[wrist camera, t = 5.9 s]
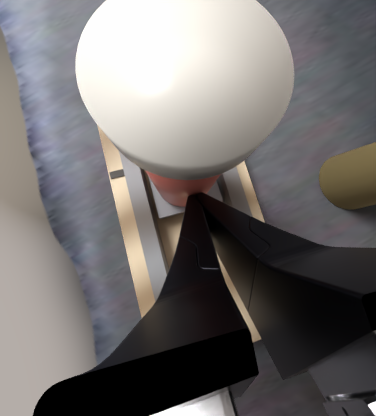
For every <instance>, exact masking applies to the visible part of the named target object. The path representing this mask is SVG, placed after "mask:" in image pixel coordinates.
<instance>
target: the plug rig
mask: <svg viewBox="0 0 376 416" xmlns="http://www.w3.org/2000/svg"><path fill="white" fill-rule="evenodd" d="M97 125H98V124H97ZM98 129H99V134H100V138H101V142H102V147H103V151H104V155H105V160H106V164H107V169H108V173H109V177H110V182H111V186H112V190H113V195H114V199H115V203H116V208H117V212H118V216H119V221H120V225H121V230H122V234H123V238H124V243H125V247H126V251H127V256H128V260H129V264H130V269H131V273H132V277H133V282H134V286H135V291H136V295H137V299H138V304H139V308H140V312H141V317H142V318H143V317H144V315H145V314H146V313H147V312H148V311H149V310H150V308H151V307H152V306H153V305H154V303H155V302H156V300H157V298H158V296H159V294H160V292H161V289H162V287H163V284H164V282H165V279H166V276H167V274H168V271H169V268H170V266H171V263H172V260H173V257H174V254H175V251H176V247H177V244H178V239H179V235H180V230H181V225H182V220H183V216H184V213H181V214H178V215H174V216H171V217H167V218H163V219H160V218H159V215H158V211H157V208H156V204H155V200H154V196H153V192H152V188H151V185H150V181H149V177H148V174H147V172H146V171H145V170H144V169H142V168H140V167H138V166H137V165H135V164H134V163H132V162H131V161H130V160H128V159H127V158H126V157H125V156H124V155H123V154H121V152H120V151H119V150H118V149H117V148H116V147H115V146H114V145H113V143H112V142H111V141H110V140H109V138H108V137H107V136H106V134H105V133H104V132H103V131H102V129H101V128H100V127H99V126H98ZM217 183H218V187H219V190H220V193H221V196H222V199H223V201H222V202H224V203H226V204H228V205H230V206H232V207H234V208H236V209H238V210H240V211H242V212H244V213H246V214H248V215H250V217H251V216H252V217H254V218H256V219H258V220H260V221H262V222H264V223H265V221H264V218H263V215H262V212H261V209H260V206H259V203H258V200H257V197H256V194H255V191H254V188H253V185H252V183H251V180H250V177H249V174H248V171H247V168H246V165H245V162H244V161H243V162H242V163H240V164H239V165H237V166H236V167H234V168H233V169H231V170H229V171H227V172H225V173H222V174H221V175H220V176H219V177H218V179H217ZM216 253H217V252H216ZM217 257H218V260H219V263H220V267H221V271H222V273H223V277H224V279H225V282H226V285H227V287H228V289H229V291H230V293H231V294H232V296H233V298H234V300H235V302H236V304H237V306H238V308H239V310H240V312H241V314H242V316H243V318H244V320H245V322H246V324H247V326H248V328H249V330H250V332H251V336H252V341H253V342H255V341H258V340H261V337H260V335H259V333H258V331H257V329H256V327H255V325H254V323H253V321H252V319H251V318H250V316H249V314H248V311H247V310H246V308H245V306H244V304H243V302H242V300H241V298H240V296H239V294H238V292H237V291H236V289H235V287H234V285H233V283H232V281H231V279H230V277H229V275H228V273H227V271H226V269H225V267H224V266H223V264H222V262H221V260H220V258H219V256H218V254H217Z"/></svg>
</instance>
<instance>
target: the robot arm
mask: <svg viewBox="0 0 376 416" xmlns="http://www.w3.org/2000/svg"><path fill="white" fill-rule="evenodd" d="M216 252H217V253H216ZM217 254H218V256H219V258H220V260H221V262H222V264H223V266H224V267H225V269H226V271H227V273H228V275H229V277H230V279H231V281H232V283H233V285H234V287H235V289H236V291H237V292H238V294H239V296H240V298H241V300H242V302H243V304H244V306H245V308H246V310H247V311H248V314H249V316H250V318H251V319H252V321H253V323H254V325H255V327H256V329H257V331H258V333H259V335H260V337H261V339H262V341H263V342H264V344H265V346H266V348H267V350H268V352H269V354H270V356H271V358H272V360H273V362H274V364H275V365H276V367H277V369H278V371H279V373H280V375H281V377H282V379H283V380H285V379H288V378H291V377H293V376H296V375H299V374H301V373H304V372H307V371H309V373H310V375H311V376H312V378H313V380H314V381H315V383H316V385H317V387H318V388H319V390H320V392H321V393H322V395H323V397H324V398H325V400H326V402H323V406H324V408H325V410H326V411H327V413H328V415H329V416H376V248H346V247H330V246H324V245H320V244H317V243H314V242H311V241H309V240H306V239H304V238H301V237H298V236H296V235H293V234H291V233H288V232H286V231H283V230H281V229H278V228H276V227H273V226H271V225H269V224H266V223H264V222H262V221H260V220H258V219H256V218H254V217H252V216H251V217H250V215H248V214H246V213H244V212H242V211H240V210H238V209H236V208H234V207H232V206H230V205H228V204H226V203H224V202H221V201H219V200H217V199H215V198H213V197H211V196H209V195H207V194H205V193H203V192H200V193H197V194H193V195H189V196H188V197H187V202H186V206H185V211H184V216H183V220H182V225H181V230H180V235H179V239H178V244H177V247H176V251H175V254H174V257H173V260H172V263H171V266H170V268H169V271H168V274H167V276H166V279H165V282H164V284H163V287H162V289H161V292H160V294H159V296H158V298H157V300H156V302H155V303H154V305H153V306H152V307H151V308H150V310H149V311H148V312H147V313H146V314H145V315H144V317H143V318H142V319H141V320H140V321H139V322H138V324H137V325H136V326H135V327H134V328H133V330H132V331H131V332H130V333H129V334H128V335H127V337H126V338H125V339H124V340H123V341H122V342H121V344H120V345H119V346H118V347H117V348H116V349H115V350H114V351H113V353H112V354H111V355H110V356H109V357H107V358H106V359H105V360H104V361H103V362H101V363H100V364H99V365H97V366H96V367H94V368H93V369H92V370H89V371H87V372H85V373H83V374H80V375H77V376H74V377H72V378H69V379H66V380H63V381H61V382H58V383H56V384H54V385H53V386H51V387H50V388H49V389H48V390H47V391H45V392H44V394H43V395H42V396H41V398H40V399H39V401H38V403H37V405H36V407H35V409H34V413H33V416H239V414H238V410H237V407H236V404H235V400H234V399H235V398H237V397H240V396H241V395H242V394H243V393H244V392H245V390H246V389H247V388H248V387H249V385H250V384H251V383H252V382H253V380H254V379H255V378H256V377H257V375H258V374H259V371H258V366H257V362H256V357H255V352H254V347H253V341H252V336H251V332H250V330H249V328H248V326H247V324H246V322H245V320H244V318H243V316H242V314H241V312H240V310H239V308H238V306H237V304H236V302H235V300H234V298H233V296H232V294H231V293H230V291H229V289H228V287H227V285H226V282H225V279H224V277H223V273H222V271H221V267H220V263H219V260H218V257H217Z"/></svg>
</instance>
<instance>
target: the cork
mask: <svg viewBox="0 0 376 416" xmlns="http://www.w3.org/2000/svg"><path fill="white" fill-rule="evenodd" d="M319 182H320V187H321V189H322V192H323V194H324V195H325V196H326V198H327V199H328V200H329V201H330V202H331V203H333V204H334V205H336V206H337V207H340V208H343V209H359V208H363V207H367V206H371V205H375V204H376V142H375V143H372V144H369V145H366V146H363V147H360V148H357V149H354V150H351V151H348V152H345V153H342V154H339V155H336V156H333V157H331V158H329V159H328V160H327V161H325V162H324V164H323V166H322V167H321V169H320V174H319Z"/></svg>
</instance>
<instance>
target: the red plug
mask: <svg viewBox="0 0 376 416" xmlns="http://www.w3.org/2000/svg"><path fill="white" fill-rule="evenodd" d="M76 77H77V84H78V88H79V91H80V94H81V97H82V100H83V102H84V104H85V106H86V108H87V110H88V111H89V113H90V114H91V116H92V117H93V119H94V120H95V122H96V123H97V124H98V126H99V127H100V128H101V129H102V131H103V132H104V133H105V134H106V136H107V137H108V138H109V140H110V141H111V142H112V143H113V145H114V146H115V147H116V148H117V149H118V150H119V151H120V152H121V154H123V155H124V156H125V157H126V158H127V159H128V160H130V161H131V162H132V163H134V164H135V165H137V166H138V167H140V168H142V169H144V170H145V171H146V172H147V174H148V177H149V181H150V185H151V188H152V192H153V196H154V200H155V204H156V208H157V211H158V215H159V218H160V219H163V218H167V217H171V216H174V215H178V214H181V213H184V211H185V206H186V202H187V197H188V196H189V195H193V194H197V193H200V192H203V193H205V194H207V195H209V196H211V197H213V198H215V199H217V200H219V201H221V202H222V201H223V199H222V196H221V193H220V190H219V187H218V183H217V179H218V177H219V176H220V175H221V174H222V173H225V172H227V171H229V170H231V169H233V168H234V167H236V166H237V165H239V164H240V163H242V162H243V161H244V160H245V159H246V158H248V157H249V156H250V155H251V154H252V153H253V152H254V151H255V150H256V148H257V147H258V146H259V145H260V144H261V143H262V142H263V141H264V140H265V139H266V138H267V137H268V136H269V134H270V133H271V132H272V131H273V130H274V129H275V127H276V126H277V125H278V124H279V122H280V120H281V119H282V117H283V115H284V114H285V112H286V109H287V107H288V105H289V102H290V99H291V95H292V91H293V84H294V65H293V59H292V54H291V51H290V48H289V45H288V42H287V40H286V37H285V35H284V33H283V31H282V30H281V28H280V27H279V25H278V24H277V22H276V21H275V19H274V18H273V17H272V16H271V15H270V13H269V12H268V11H267V10H266V9H265V8H264V7H263V6H262V5H261V4H259V3H258V2H257V1H256V0H106V1H105V2H104V3H103V4H102V5H101V6H100V7H99V8H98V9H97V10H96V11H95V13H94V14H93V15H92V17H91V18H90V20H89V21H88V23H87V25H86V27H85V28H84V30H83V32H82V35H81V38H80V41H79V44H78V48H77V54H76Z"/></svg>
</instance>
